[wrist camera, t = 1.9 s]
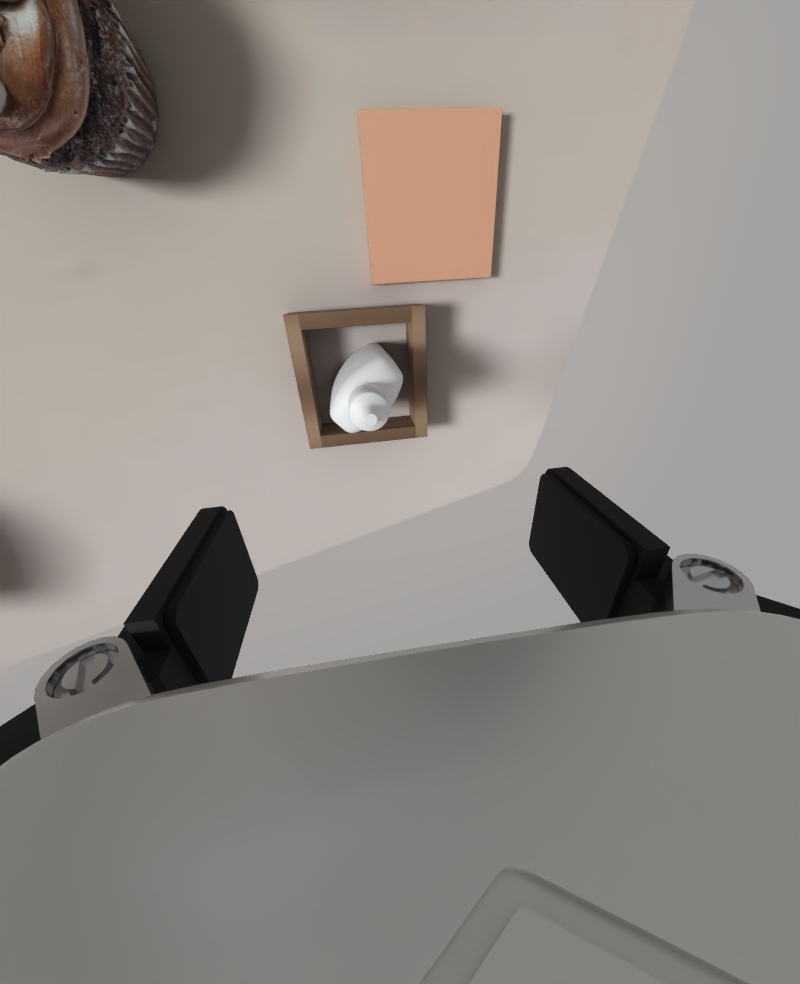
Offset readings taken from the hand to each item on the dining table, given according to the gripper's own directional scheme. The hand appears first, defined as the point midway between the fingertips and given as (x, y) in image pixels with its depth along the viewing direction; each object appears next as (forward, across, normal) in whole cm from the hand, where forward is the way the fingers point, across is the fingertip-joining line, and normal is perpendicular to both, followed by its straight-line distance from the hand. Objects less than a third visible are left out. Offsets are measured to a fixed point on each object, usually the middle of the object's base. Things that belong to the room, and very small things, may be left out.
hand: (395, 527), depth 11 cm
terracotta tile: (+22, -6, -11) cm, 25 cm away
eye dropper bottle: (+22, 0, 0) cm, 22 cm away
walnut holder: (+22, 0, 0) cm, 22 cm away
